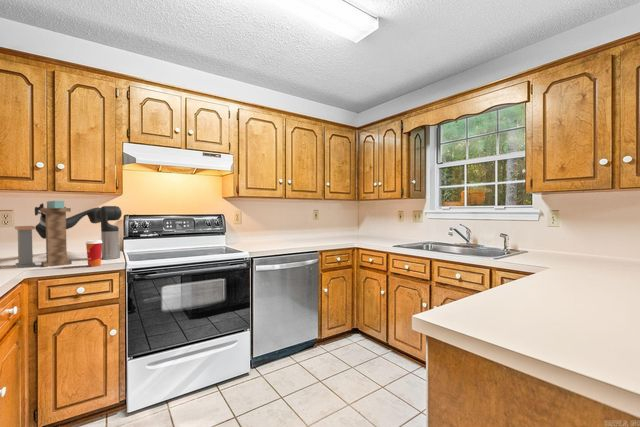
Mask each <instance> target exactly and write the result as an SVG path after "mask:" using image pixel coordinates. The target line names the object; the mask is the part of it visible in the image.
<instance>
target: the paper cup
mask: <svg viewBox="0 0 640 427" xmlns="http://www.w3.org/2000/svg"><path fill="white" fill-rule="evenodd" d="M102 243H103V242H102V240H101V239H95V240H94V239H93V240H92V239H91V240H90V239H89V240H86V242H85V246H86V247H85V248H86V256H87V258H86V259H87V266H88V267H91V268H94V267H101V264H102Z"/></svg>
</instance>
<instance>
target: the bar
mask: <svg viewBox="0 0 640 427" xmlns="http://www.w3.org/2000/svg"><path fill="white" fill-rule="evenodd" d="M64 207H65V201H64V200H50V201H49V200H48V201H46V208H64Z"/></svg>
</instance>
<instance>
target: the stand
mask: <svg viewBox="0 0 640 427" xmlns="http://www.w3.org/2000/svg"><path fill="white" fill-rule="evenodd" d="M71 210H72V209H71V207H69V208H68V207H66V208H47V207H45V208H40V210H39V212H45V213H46V239H45V240H46V241H45V250H46V251H45V252H46V253H45V254H46V255H45V256H46V257H45V258H46V260H45V261H44V262H41V266H42V268H47V267H48V266H50V267H56V266H57V267H59V266H65V265H72V260H70V259H68V257H67V255H68V252H67V250H68V249H67V248H68V246H67V229H66V218H67V213H69V212H71ZM48 268H49V267H48Z"/></svg>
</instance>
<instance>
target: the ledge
mask: <svg viewBox="0 0 640 427" xmlns="http://www.w3.org/2000/svg"><path fill="white" fill-rule="evenodd" d="M35 226H36V225H15V226H14V230H16V231H17V249H18V250H17V255H18V256H17V259H18V261H17V262H15V266H16V267H17V268H18V269H19V268H21V267H22V268H30V266H31V267H36V266H37V264H36V263H35V262H34V261H33V260H34V259H33V256H34V254H33V230H36V229H35Z"/></svg>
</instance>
